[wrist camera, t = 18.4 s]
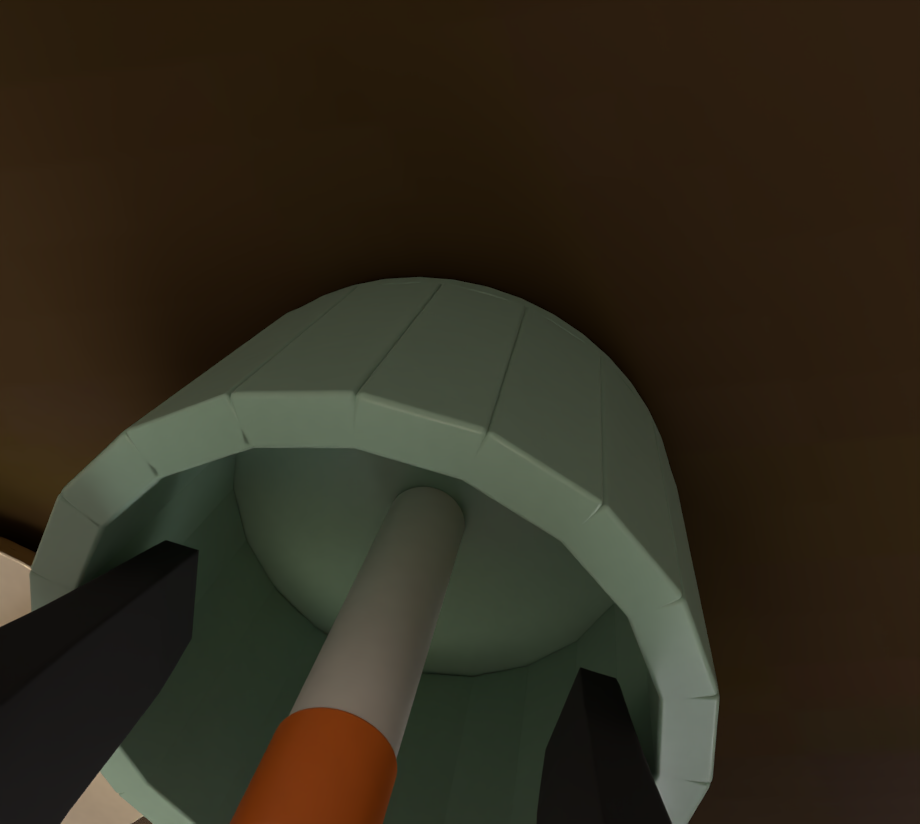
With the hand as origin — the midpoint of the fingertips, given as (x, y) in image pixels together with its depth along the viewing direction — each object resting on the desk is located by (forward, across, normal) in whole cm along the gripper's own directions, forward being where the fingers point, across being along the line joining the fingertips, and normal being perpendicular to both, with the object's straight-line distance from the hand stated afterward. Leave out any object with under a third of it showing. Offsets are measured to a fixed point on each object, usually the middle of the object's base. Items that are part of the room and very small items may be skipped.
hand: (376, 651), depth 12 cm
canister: (+5, 0, 0) cm, 5 cm away
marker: (+4, 0, 0) cm, 4 cm away
